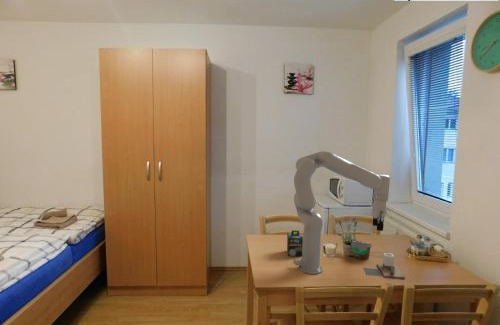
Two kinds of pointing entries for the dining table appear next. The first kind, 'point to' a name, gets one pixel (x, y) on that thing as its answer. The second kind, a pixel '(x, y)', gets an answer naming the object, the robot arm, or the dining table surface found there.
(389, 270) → the pinboard
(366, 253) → the food container
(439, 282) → the dining table surface
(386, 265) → the sleeve
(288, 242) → the chalk box
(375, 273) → the mat
